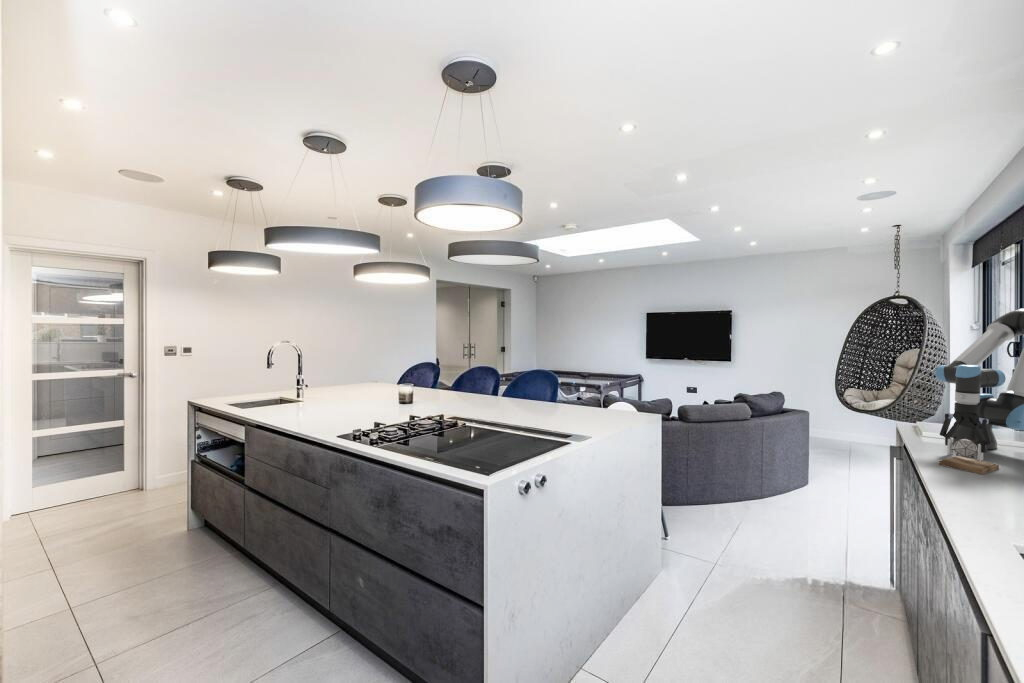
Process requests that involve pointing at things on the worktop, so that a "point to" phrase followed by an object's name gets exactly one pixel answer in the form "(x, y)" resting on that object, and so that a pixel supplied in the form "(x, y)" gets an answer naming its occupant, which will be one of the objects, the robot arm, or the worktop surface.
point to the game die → (965, 447)
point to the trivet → (969, 464)
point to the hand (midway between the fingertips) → (964, 456)
